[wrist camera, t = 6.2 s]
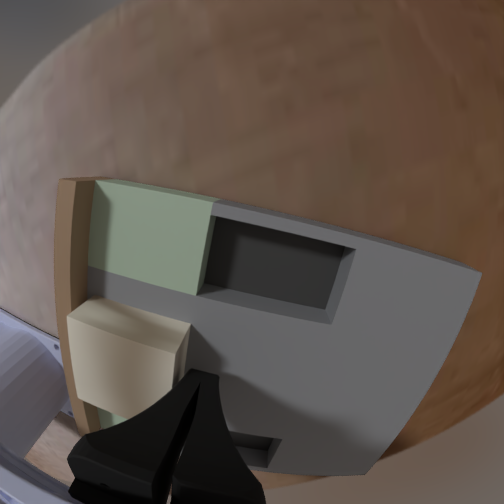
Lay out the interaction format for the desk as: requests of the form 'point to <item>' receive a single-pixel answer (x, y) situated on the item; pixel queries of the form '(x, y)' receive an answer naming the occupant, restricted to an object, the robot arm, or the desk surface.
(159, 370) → the cream block
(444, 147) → the desk surface
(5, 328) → the robot arm
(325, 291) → the board
